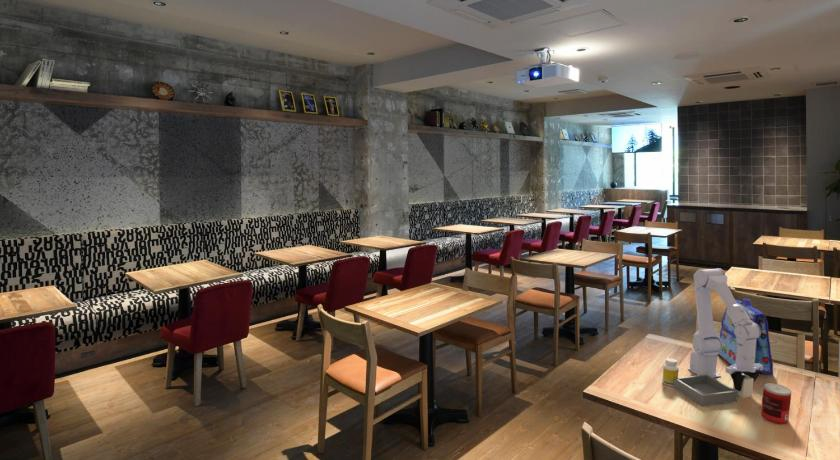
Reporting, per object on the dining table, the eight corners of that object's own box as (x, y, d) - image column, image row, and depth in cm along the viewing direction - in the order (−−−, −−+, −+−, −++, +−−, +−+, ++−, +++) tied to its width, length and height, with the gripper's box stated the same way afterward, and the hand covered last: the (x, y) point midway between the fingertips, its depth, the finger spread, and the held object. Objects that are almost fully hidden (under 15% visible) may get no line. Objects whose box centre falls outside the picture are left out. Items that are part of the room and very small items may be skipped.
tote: (673, 387, 189) (674, 378, 188) (705, 383, 192) (706, 374, 191) (702, 406, 175) (703, 395, 174) (736, 401, 177) (737, 391, 177)
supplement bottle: (679, 387, 189) (680, 363, 188) (664, 386, 190) (665, 362, 189) (675, 380, 195) (676, 357, 193) (660, 379, 196) (661, 356, 194)
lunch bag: (715, 353, 221) (719, 292, 217) (747, 354, 219) (752, 292, 215) (739, 374, 200) (744, 306, 196) (775, 375, 198) (781, 307, 194)
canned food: (783, 414, 168) (786, 384, 167) (792, 426, 161) (795, 395, 159) (757, 411, 171) (760, 381, 169) (765, 422, 163) (768, 392, 162)
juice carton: (732, 391, 185) (734, 372, 184) (741, 390, 186) (743, 371, 184) (743, 397, 180) (744, 377, 179) (752, 396, 181) (753, 376, 180)
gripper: (738, 361, 175) (735, 396, 177) (771, 357, 178) (768, 392, 180) (722, 353, 182) (719, 387, 184) (754, 350, 185) (751, 383, 187)
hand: (742, 389), depth 183 cm, fingers closed on juice carton, 4 cm apart
